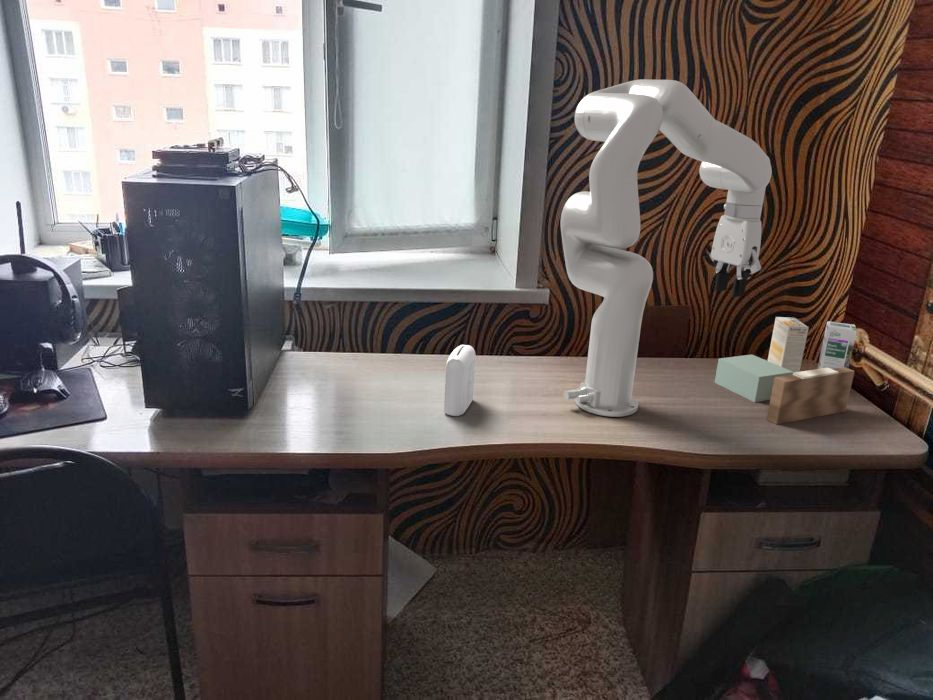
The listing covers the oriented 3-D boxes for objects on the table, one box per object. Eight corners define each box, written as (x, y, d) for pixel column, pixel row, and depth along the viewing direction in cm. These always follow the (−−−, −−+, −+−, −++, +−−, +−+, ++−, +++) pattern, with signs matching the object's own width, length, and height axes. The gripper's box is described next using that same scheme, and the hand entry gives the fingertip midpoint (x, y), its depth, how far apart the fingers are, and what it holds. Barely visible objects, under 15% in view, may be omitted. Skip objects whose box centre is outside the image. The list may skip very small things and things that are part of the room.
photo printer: (454, 396, 152) (457, 338, 148) (475, 399, 151) (478, 341, 147) (440, 415, 142) (443, 354, 138) (462, 418, 141) (466, 357, 138)
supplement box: (798, 381, 172) (810, 327, 167) (778, 380, 172) (788, 325, 167) (785, 369, 179) (795, 317, 175) (765, 368, 179) (775, 315, 175)
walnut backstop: (776, 424, 147) (785, 380, 144) (766, 419, 149) (774, 375, 146) (845, 411, 155) (855, 369, 152) (834, 406, 157) (844, 365, 154)
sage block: (754, 403, 158) (759, 376, 156) (714, 383, 168) (718, 358, 166) (788, 397, 162) (793, 372, 160) (747, 378, 172) (751, 354, 170)
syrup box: (815, 387, 168) (828, 326, 164) (814, 379, 174) (827, 319, 169) (843, 392, 166) (857, 330, 162) (841, 383, 172) (855, 323, 167)
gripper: (702, 206, 168) (690, 285, 174) (760, 218, 153) (744, 304, 159) (727, 206, 171) (714, 283, 177) (786, 217, 157) (770, 301, 162)
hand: (729, 292), depth 168 cm, fingers open, 4 cm apart
